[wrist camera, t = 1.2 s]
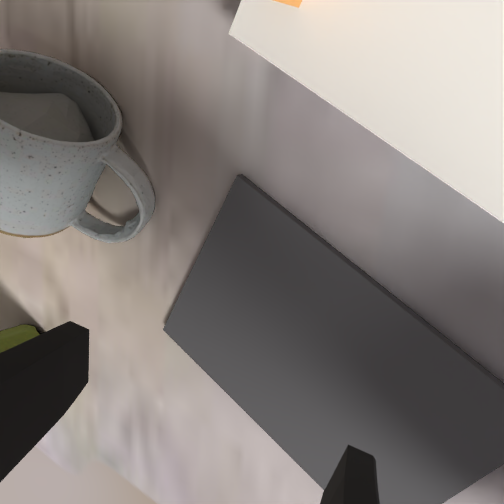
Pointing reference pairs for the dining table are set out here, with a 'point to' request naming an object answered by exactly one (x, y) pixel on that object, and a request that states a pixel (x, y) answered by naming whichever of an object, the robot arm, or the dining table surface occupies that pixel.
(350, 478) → the robot arm
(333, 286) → the mat
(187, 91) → the dining table surface
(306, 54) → the lid
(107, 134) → the ceramic mug
